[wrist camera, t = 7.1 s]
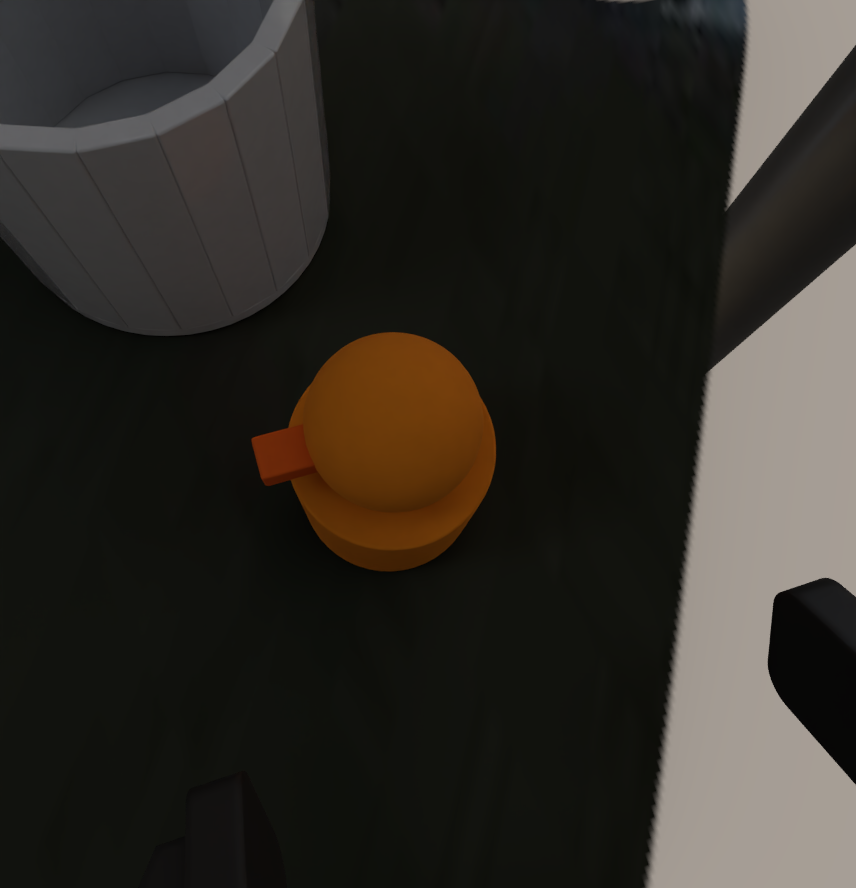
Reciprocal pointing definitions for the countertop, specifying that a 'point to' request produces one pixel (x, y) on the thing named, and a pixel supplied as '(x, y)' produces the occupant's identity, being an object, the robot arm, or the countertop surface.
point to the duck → (386, 451)
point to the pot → (162, 155)
